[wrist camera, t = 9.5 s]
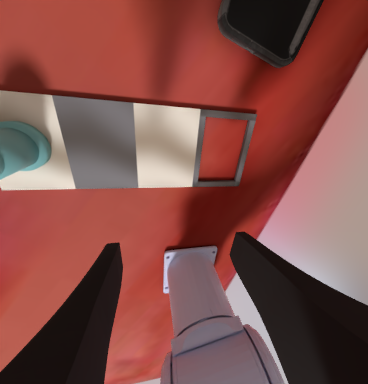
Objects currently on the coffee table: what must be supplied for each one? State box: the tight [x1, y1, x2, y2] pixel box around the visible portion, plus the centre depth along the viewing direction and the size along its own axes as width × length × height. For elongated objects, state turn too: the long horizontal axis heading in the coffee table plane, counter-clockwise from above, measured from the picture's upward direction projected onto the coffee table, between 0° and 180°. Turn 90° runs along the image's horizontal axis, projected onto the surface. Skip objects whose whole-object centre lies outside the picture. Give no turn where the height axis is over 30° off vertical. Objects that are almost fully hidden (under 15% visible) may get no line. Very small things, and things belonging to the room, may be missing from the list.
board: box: [0, 90, 257, 190], centre depth 15 cm, size 8×24×1 cm, turn 86°
